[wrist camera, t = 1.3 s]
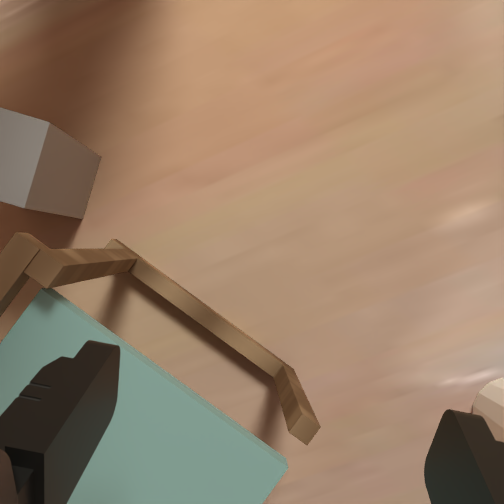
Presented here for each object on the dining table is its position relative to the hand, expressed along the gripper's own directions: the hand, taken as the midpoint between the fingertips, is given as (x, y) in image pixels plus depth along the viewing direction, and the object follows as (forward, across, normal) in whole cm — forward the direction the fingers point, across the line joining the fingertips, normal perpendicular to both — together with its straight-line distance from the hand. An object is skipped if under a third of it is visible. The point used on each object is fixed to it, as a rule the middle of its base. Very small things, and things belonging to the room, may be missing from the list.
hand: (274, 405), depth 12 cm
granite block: (+25, +17, +3) cm, 30 cm away
